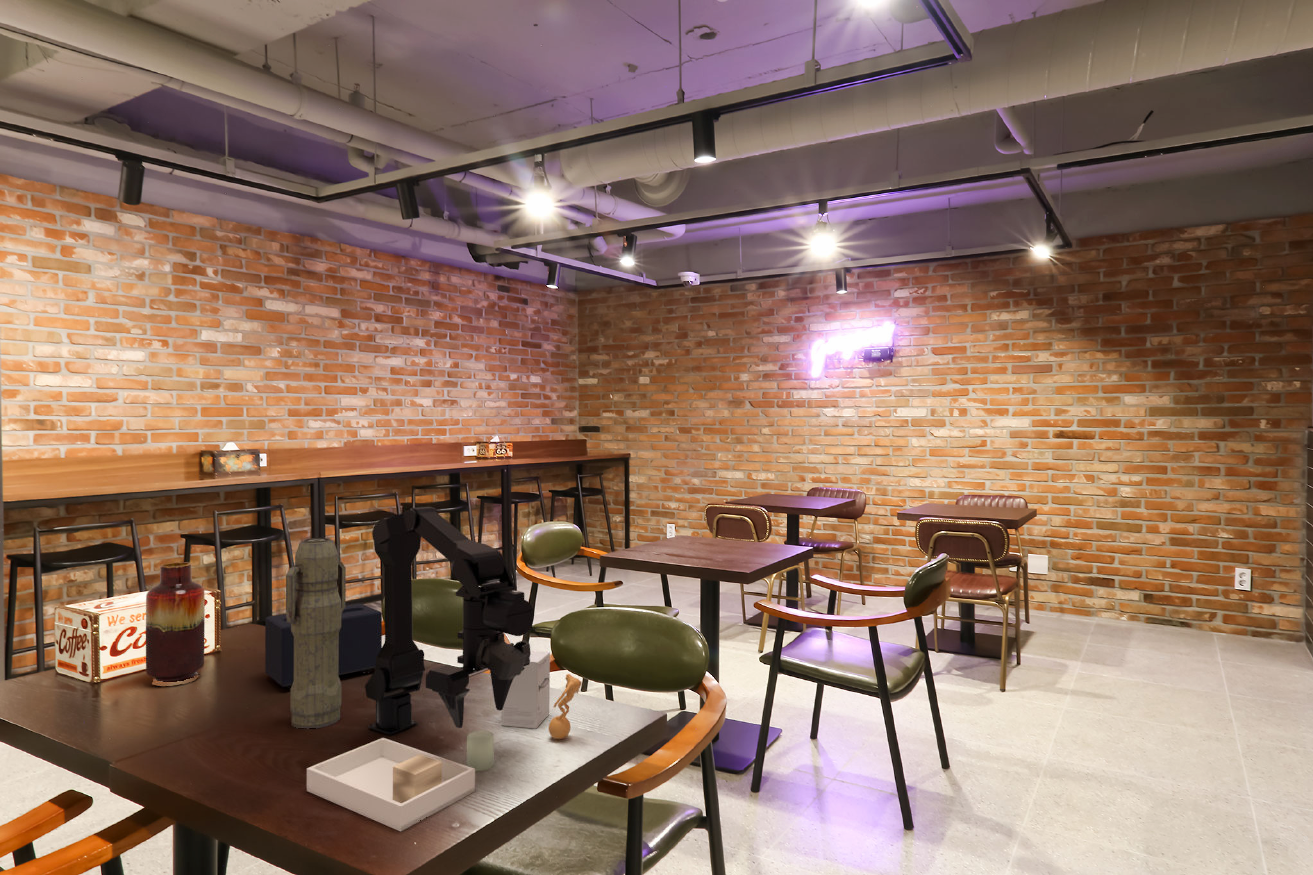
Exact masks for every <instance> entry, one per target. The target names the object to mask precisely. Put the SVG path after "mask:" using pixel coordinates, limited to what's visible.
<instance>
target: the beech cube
mask: <svg viewBox="0 0 1313 875" xmlns="http://www.w3.org/2000/svg"><path fill="white" fill-rule="evenodd" d="M441 783H442V762H440V761H437V760H434V759H431V758H428V757H426V756H423V755H417V756H415V757H413V758H411V759H408V760H406V761H404V762H402V763H399V764H397V765H395V766H393V800H395V801H397V802H399V803H403V802H405V801H407V800H409V799H411V798H413V797H415V796H417V795H419V794H421V793H423V792H425V791H427V790H429V789H431V788H433V787H435V786H437V785H439V784H441Z"/></svg>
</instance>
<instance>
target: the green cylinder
mask: <svg viewBox="0 0 1313 875" xmlns="http://www.w3.org/2000/svg"><path fill="white" fill-rule="evenodd" d="M494 736H495V735H494V733H493V731H490V730H477V731H473V732H470V733H469V734H467V735H466V766H468V767H471V768H474V769H475V772H484V771H487V770H490V769H492V768H493V767H494V766H495V765H494V762H495V761H494V760H495V758H494V756H495V755H494V754H495V753H494V750H495V749H494V748H495V744H494V743H495V742H494V741H495V737H494Z"/></svg>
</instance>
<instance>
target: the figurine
mask: <svg viewBox="0 0 1313 875" xmlns="http://www.w3.org/2000/svg"><path fill="white" fill-rule="evenodd" d="M565 680H566V683H565V688H564V690H563V692H562V694H561V695H560V696H559V697H558V698H557V700H556V701H555V703H554V705H553V708H556V707H558V708H559V710H560V712H561V714H560V715H556V716H555V717H553V718H552V719H550V722H549V724H548V732H549V734H550V736H551V737H552V738H553V739H555V740H563V739H565V738H566V737H567V736H568V735H569V734H570V732H571V727H572V726H571V722H570V720H569V719H568V718H567V717H566V716H567V715H568V714H569V712H570V706H569V704H568V703H570V702H571V701H572V700H573V698H574V696H575V694H578V693H579V690H580V688H581V686H582V681H581V680H580V679H579V678H576V677H574V676H572V675H571V674H570V673H568V674H566V675H565ZM565 694H566V695H565ZM563 706H564V707H563Z"/></svg>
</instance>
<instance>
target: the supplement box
mask: <svg viewBox="0 0 1313 875" xmlns="http://www.w3.org/2000/svg"><path fill="white" fill-rule="evenodd" d="M530 652H531V654H530V664H529V665H527V666H524V668H525V669H524V670H523V671H521V674H520V675H517V676H515V677H514V679H513V681H512V684H511V686H510V689H509V692H508V695H507V698H506V701H505V704H504V707H503V709H502V710H501V726H504V727H516V728H525V729H528V728H529V729H538V728H539V726H540V725H541V724H542V722H543V721H544V720H545V719H546V718H547V717H548V716H549V715H550V698H551V697H550V693H551V692H550V686H551V685H550V683H551V682H550V681H551V680H550V677H551V676H550V673H551V672H550V670H551V668H550V667H551V663H550V660H551V659H550V658H551V655H550V654H551V652H550V651H540V650H539V651H538V650H536V651H535V650H530Z"/></svg>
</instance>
